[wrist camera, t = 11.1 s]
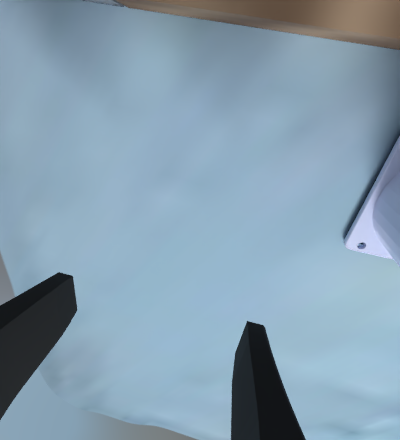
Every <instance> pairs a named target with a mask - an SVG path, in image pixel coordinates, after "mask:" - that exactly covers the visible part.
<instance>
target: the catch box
mask: <svg viewBox="0 0 400 440" xmlns="http://www.w3.org/2000/svg"><path fill="white" fill-rule="evenodd" d="M83 1H89V2H96V3H102V4H108V5H115V6H121V7H124V5H123V4H121V3H119V2H117V1H116V0H83Z"/></svg>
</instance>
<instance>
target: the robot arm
mask: <svg viewBox="0 0 400 440" xmlns="http://www.w3.org/2000/svg"><path fill="white" fill-rule="evenodd" d="M359 243H364V244H363V245H361V246H357V245H358V244H359ZM344 244H345V246H346V248H347V249H350V250H354V251H358V252H363V253H367V254H371V255H376V256H380V257H385V258H389V259H394V260H395V262H396V263H397V264H398V265H399V267H400V136H399V138H398V140H397V142H396V143H395V145H394V147H393V149H392V151H391V153H390V155H389V157H388V158H387V160H386V162H385V164H384V166H383V168H382V170H381V172H380V174H379V175H378V177H377V179H376V181H375V183H374V185H373V187H372V189H371V190H370V192H369V194H368V196H367V198H366V200H365V202H364V204H363V206H362V207H361V209H360V211H359V213H358V215H357V217H356V219H355V221H354V223H353V224H352V226H351V228H350V230H349V232H348V234H347V236H346V238H345V239H344ZM76 311H77V304H76V297H75V289H74V282H73V276H71V275H67V274H63V273H57V274H55V275H53V276H52V277H50V278H48V279H46V280H45V281H43V282H41V283H39V284H38V285H36V286H34V287H32V288H31V289H29V290H27V291H25V292H24V293H22V294H20V295H18V296H17V297H15V298H13V299H11V300H10V301H8V302H6V303H4V304H2V305H1V306H0V420H1V418H2V416H3V415H4V413H5V412H6V410H7V409H8V407H9V406H10V404H11V403H12V401H13V400H14V398H15V397H16V395H17V394H18V393H19V391H20V390H21V389H22V387H23V386H24V385H25V383H26V382H27V381H28V379H29V378H30V377H31V375H32V374H33V373H34V371H35V370H36V369H37V368H38V366H39V365H40V364H41V362H42V361H43V360H44V359H45V357H46V356H47V355H48V353H49V352H50V351H51V349H52V348H53V347H54V345H55V344H56V343H57V341H58V340H59V339H60V337H61V336H62V335H63V333H64V332H65V330H66V328H67V327H68V325H69V324H70V322H71V320H72V318H73V317H74V315H75V313H76ZM231 440H306V439H305V437H304V435H303V432H302V430H301V428H300V426H299V423H298V421H297V418H296V416H295V414H294V411H293V409H292V407H291V404H290V402H289V399H288V397H287V394H286V391H285V389H284V386H283V383H282V380H281V378H280V375H279V372H278V369H277V367H276V364H275V360H274V357H273V354H272V351H271V348H270V345H269V341H268V337H267V334H266V330H265V327H264V326H263V325H260V324H256V323H252V322H249V321H247V323H246V326H245V329H244V331H243V334H242V337H241V339H240V342H239V345H238V347H237V350H236V353H235V361H234V369H233V379H232V418H231Z"/></svg>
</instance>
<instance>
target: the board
mask: <svg viewBox="0 0 400 440" xmlns="http://www.w3.org/2000/svg"><path fill="white" fill-rule="evenodd" d="M116 1H117V2H119V3H121V4H123V5H125V6H126V7H128V8H134V9H141V10H147V11H153V12H160V13H166V14H173V15H179V16H185V17H192V18H198V19H205V20H211V21H218V22H224V23H230V24H237V25H243V26H250V27H256V28H262V29H269V30H275V31H282V32H288V33H295V34H301V35H307V36H314V37H320V38H327V39H333V40H339V41H346V42H352V43H359V44H365V45H372V46H378V47H384V48H391V49H397V50H400V0H116Z"/></svg>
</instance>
